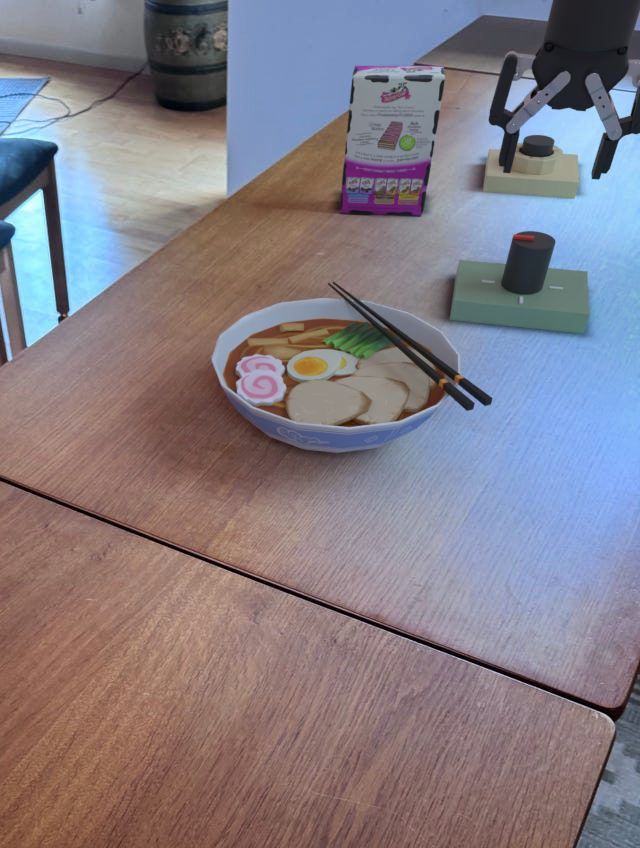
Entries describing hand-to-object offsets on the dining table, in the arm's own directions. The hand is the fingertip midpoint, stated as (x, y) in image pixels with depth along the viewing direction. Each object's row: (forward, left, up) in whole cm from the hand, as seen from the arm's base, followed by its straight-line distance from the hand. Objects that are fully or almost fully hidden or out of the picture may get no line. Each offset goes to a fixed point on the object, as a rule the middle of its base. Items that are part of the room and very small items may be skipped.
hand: (550, 173), depth 92 cm
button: (-1, -38, -11) cm, 39 cm away
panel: (0, 0, -15) cm, 15 cm away
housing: (-1, -38, -15) cm, 40 cm away
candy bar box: (+18, -25, -15) cm, 34 cm away
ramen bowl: (+17, +27, -15) cm, 35 cm away
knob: (0, 0, -12) cm, 12 cm away
